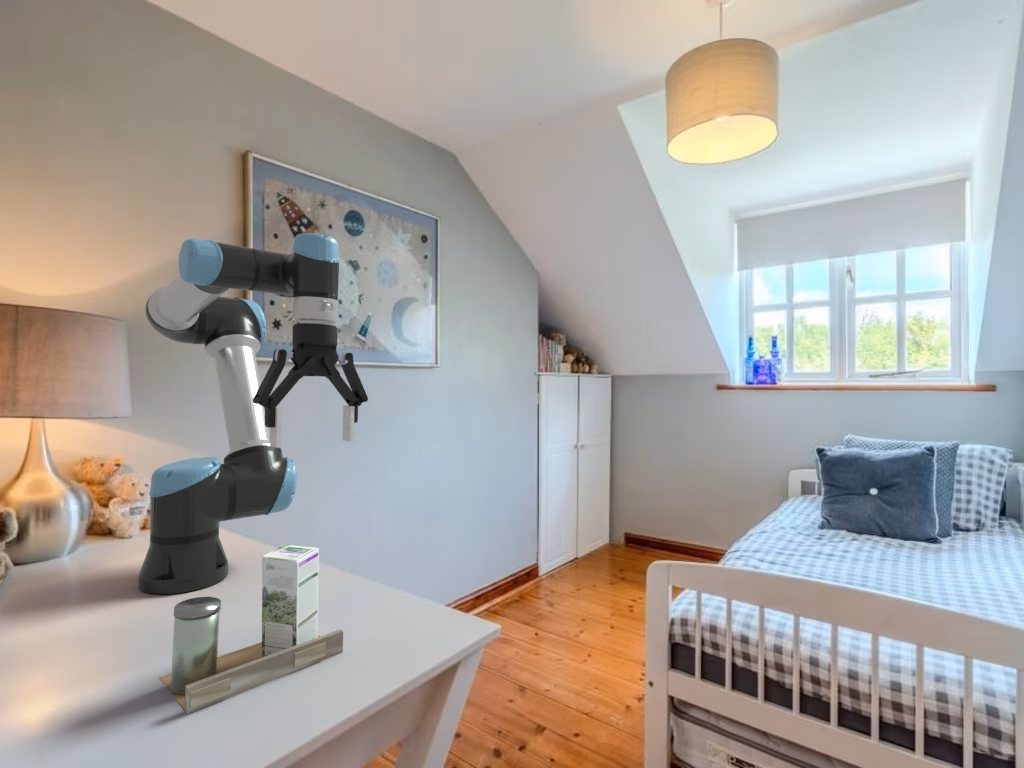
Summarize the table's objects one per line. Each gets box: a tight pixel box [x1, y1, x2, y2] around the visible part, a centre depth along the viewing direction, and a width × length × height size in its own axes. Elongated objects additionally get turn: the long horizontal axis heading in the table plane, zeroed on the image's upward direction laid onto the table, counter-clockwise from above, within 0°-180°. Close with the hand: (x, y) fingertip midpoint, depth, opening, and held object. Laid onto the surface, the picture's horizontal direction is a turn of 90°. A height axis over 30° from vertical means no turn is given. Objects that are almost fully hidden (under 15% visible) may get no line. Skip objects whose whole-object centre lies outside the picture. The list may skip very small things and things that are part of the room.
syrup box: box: [261, 544, 320, 657], centre depth 78 cm, size 6×6×14 cm
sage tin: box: [170, 596, 222, 695], centre depth 69 cm, size 5×5×10 cm
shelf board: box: [159, 629, 344, 715], centre depth 74 cm, size 11×20×4 cm, turn 137°
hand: (313, 443), depth 96 cm, fingers open, 13 cm apart
